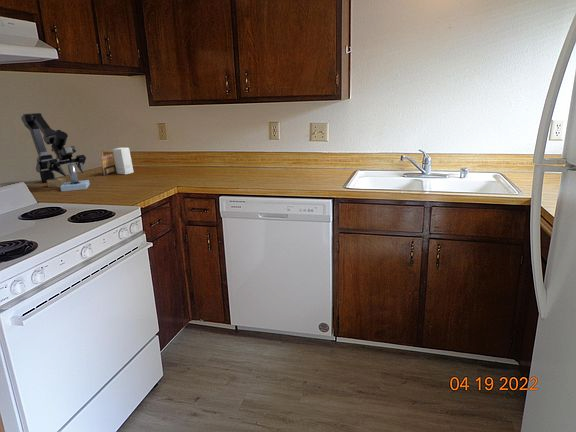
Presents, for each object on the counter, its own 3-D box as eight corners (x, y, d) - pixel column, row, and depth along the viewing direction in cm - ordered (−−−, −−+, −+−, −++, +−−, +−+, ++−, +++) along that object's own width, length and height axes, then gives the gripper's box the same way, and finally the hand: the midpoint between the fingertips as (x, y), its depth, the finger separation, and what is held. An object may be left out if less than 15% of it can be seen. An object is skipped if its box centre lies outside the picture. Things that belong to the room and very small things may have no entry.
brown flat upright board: (105, 176, 254) (102, 156, 250) (102, 175, 254) (99, 156, 251) (116, 172, 264) (113, 153, 260) (114, 172, 264) (111, 153, 261)
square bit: (67, 185, 232) (65, 178, 231) (61, 187, 228) (60, 180, 227) (53, 185, 234) (52, 178, 233) (48, 187, 231) (46, 179, 230)
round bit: (70, 188, 223) (66, 165, 219) (74, 187, 226) (69, 164, 222) (77, 188, 222) (72, 165, 219) (80, 186, 226) (76, 163, 222)
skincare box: (134, 172, 259) (130, 147, 255) (125, 175, 254) (120, 149, 249) (125, 172, 264) (121, 147, 259) (116, 174, 258) (111, 148, 254)
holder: (61, 191, 217) (60, 186, 216) (65, 186, 228) (64, 182, 227) (86, 188, 220) (85, 184, 220) (89, 184, 231) (88, 179, 231)
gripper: (44, 143, 213) (58, 167, 209) (81, 139, 226) (95, 161, 223) (41, 158, 220) (55, 181, 216) (77, 153, 233) (90, 174, 230)
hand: (74, 174), depth 221 cm, fingers open, 9 cm apart
